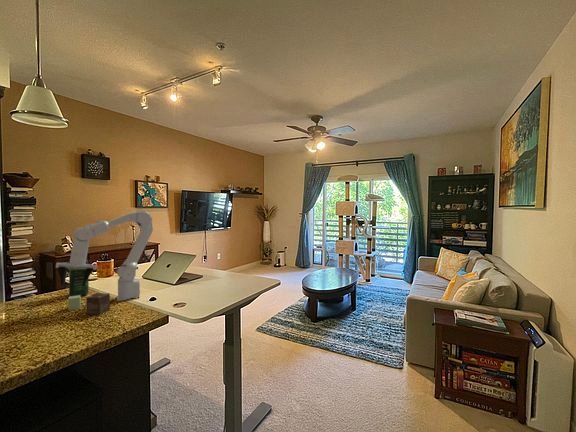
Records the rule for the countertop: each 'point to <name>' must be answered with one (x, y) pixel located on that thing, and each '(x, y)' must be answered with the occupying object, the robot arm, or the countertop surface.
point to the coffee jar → (77, 282)
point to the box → (98, 303)
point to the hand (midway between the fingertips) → (73, 284)
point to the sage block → (74, 302)
